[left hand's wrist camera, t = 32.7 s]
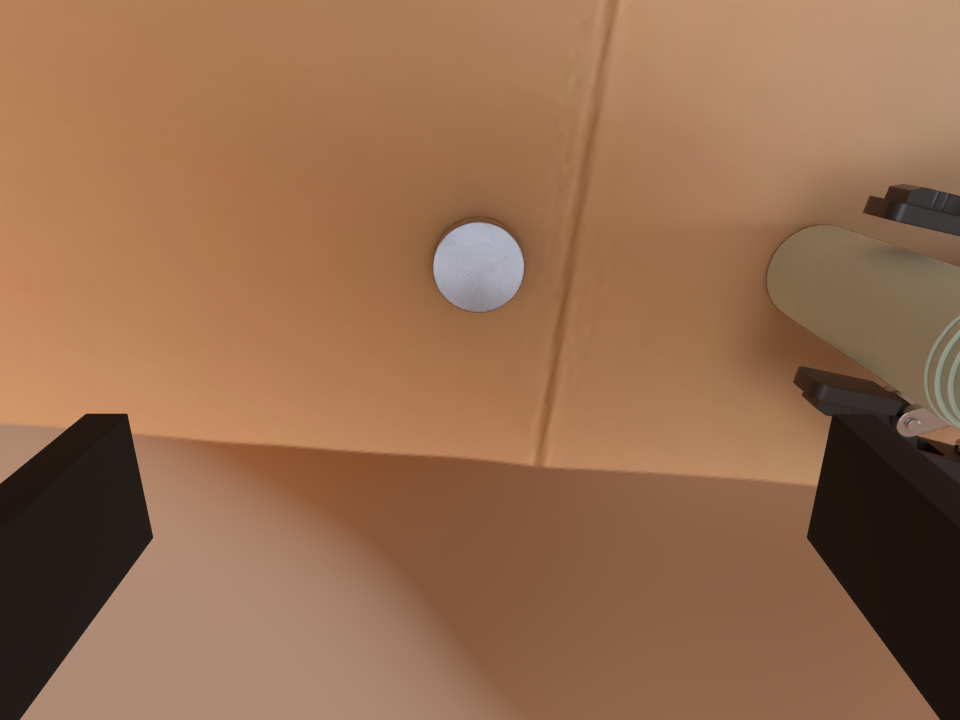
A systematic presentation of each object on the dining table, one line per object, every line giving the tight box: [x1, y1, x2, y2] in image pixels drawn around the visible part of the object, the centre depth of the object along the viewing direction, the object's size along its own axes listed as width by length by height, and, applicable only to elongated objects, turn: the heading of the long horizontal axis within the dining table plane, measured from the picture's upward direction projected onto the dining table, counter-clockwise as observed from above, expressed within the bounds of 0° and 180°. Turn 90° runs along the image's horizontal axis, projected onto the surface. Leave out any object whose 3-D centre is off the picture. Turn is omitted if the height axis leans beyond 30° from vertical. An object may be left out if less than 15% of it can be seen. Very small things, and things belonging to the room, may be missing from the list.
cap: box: [433, 217, 525, 312], centre depth 33 cm, size 4×4×2 cm
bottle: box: [767, 225, 960, 429], centre depth 26 cm, size 5×5×17 cm
